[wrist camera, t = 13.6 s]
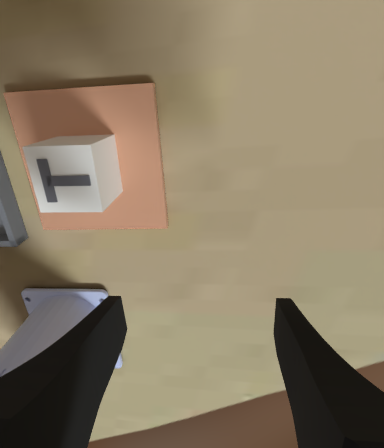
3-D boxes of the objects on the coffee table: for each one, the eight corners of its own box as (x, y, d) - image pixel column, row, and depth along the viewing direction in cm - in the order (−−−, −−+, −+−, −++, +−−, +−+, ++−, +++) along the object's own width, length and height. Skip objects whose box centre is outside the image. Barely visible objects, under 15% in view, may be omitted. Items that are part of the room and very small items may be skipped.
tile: (168, 225, 23) (167, 228, 22) (47, 226, 24) (43, 229, 23) (154, 82, 19) (152, 82, 18) (9, 92, 20) (3, 92, 19)
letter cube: (122, 191, 21) (102, 212, 18) (70, 191, 22) (39, 213, 18) (114, 134, 20) (89, 145, 16) (57, 136, 20) (21, 147, 16)
